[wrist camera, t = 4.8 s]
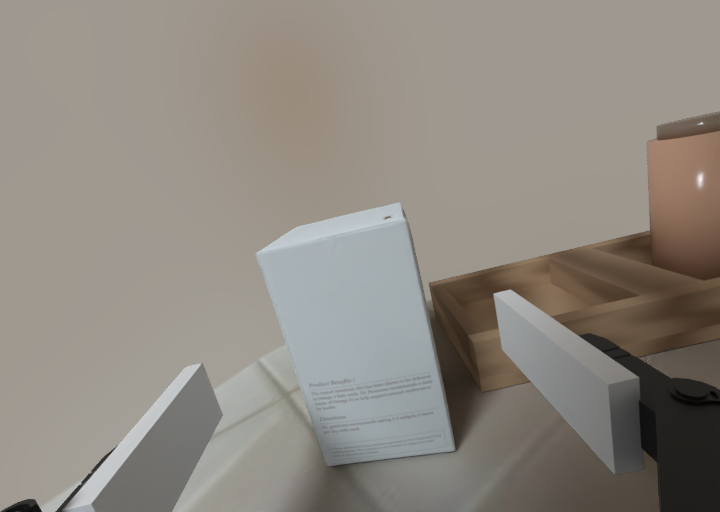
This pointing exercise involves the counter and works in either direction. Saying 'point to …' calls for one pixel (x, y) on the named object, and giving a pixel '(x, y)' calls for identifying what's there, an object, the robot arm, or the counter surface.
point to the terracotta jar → (686, 196)
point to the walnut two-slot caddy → (579, 304)
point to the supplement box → (360, 336)
